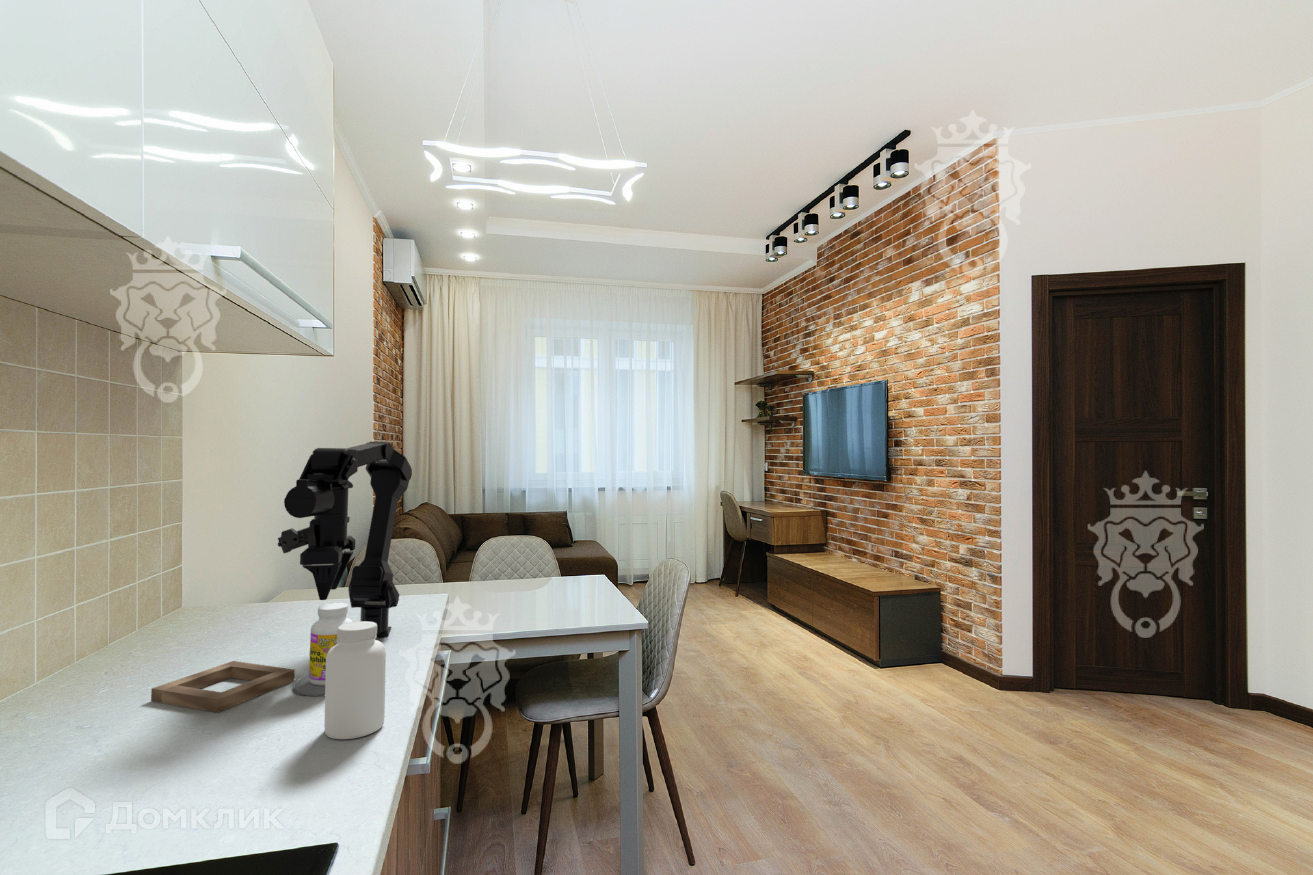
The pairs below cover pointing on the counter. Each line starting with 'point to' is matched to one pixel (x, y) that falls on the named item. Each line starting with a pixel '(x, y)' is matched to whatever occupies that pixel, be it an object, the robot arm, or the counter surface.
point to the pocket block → (193, 697)
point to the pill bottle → (355, 682)
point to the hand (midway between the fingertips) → (328, 594)
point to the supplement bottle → (325, 638)
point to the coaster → (308, 688)
